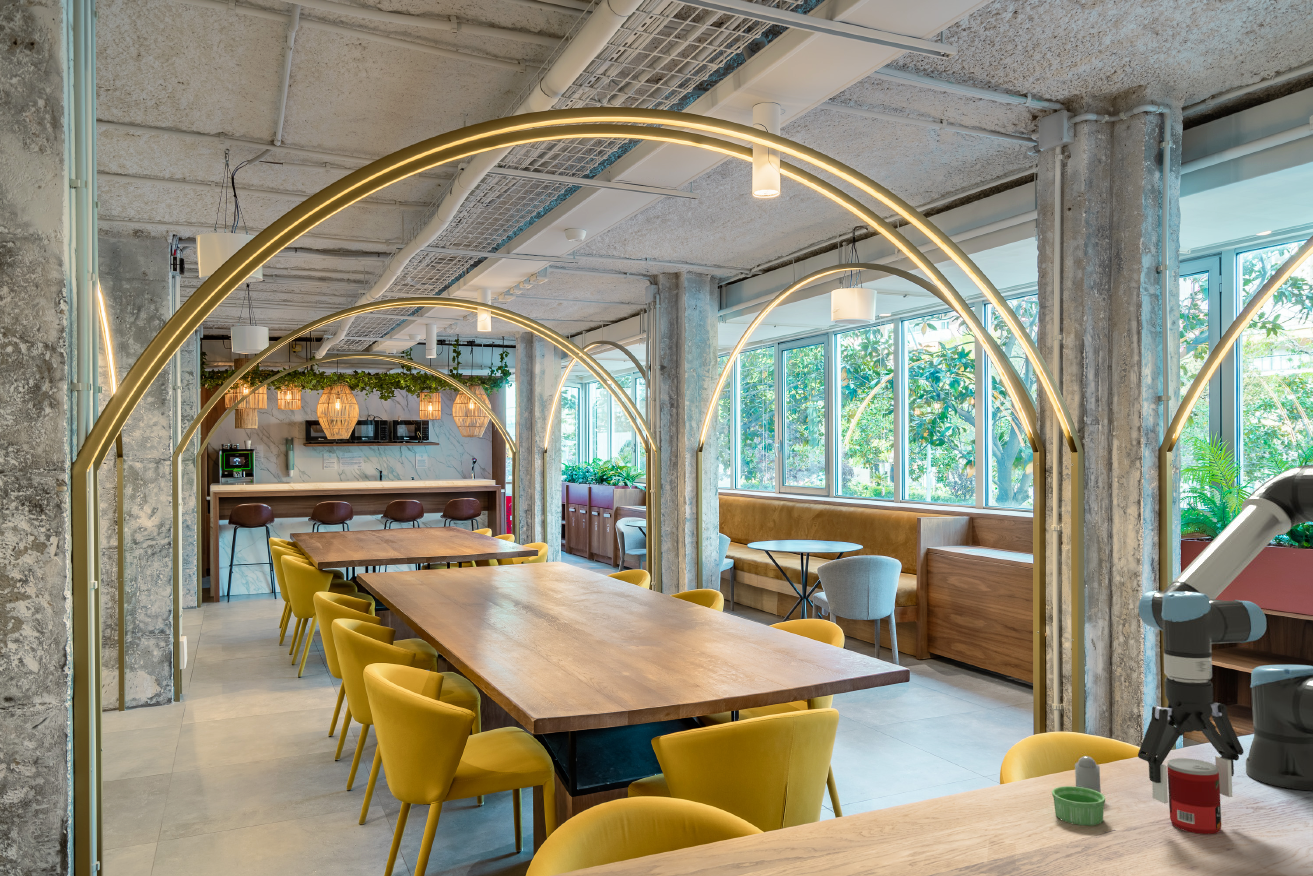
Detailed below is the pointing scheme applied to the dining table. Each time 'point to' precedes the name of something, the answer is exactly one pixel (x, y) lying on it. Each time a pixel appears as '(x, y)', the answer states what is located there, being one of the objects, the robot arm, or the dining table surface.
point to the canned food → (1194, 795)
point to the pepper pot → (1087, 774)
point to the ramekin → (1079, 805)
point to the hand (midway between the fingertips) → (1192, 797)
